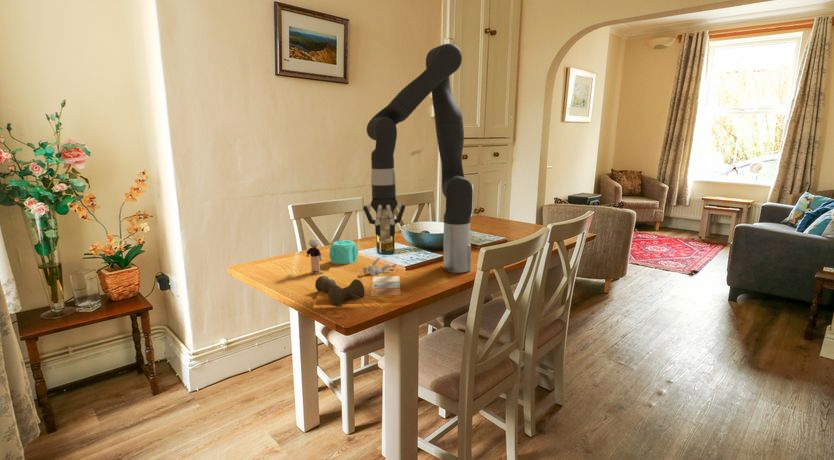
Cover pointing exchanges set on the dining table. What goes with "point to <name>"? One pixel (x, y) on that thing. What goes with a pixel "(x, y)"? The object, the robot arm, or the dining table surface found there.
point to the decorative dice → (343, 252)
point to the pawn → (385, 227)
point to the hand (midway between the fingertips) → (385, 235)
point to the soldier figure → (377, 270)
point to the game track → (386, 286)
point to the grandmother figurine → (314, 256)
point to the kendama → (339, 290)
